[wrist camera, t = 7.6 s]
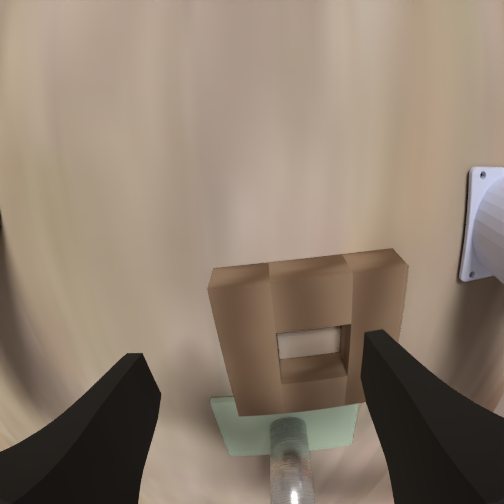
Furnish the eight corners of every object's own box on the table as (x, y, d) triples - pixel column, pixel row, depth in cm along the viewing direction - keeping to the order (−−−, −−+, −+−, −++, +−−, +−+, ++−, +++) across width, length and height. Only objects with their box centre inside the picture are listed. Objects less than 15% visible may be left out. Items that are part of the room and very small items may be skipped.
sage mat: (359, 382, 23) (361, 387, 22) (350, 439, 26) (351, 444, 26) (210, 397, 24) (210, 403, 23) (230, 451, 27) (229, 456, 27)
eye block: (392, 248, 18) (408, 266, 16) (377, 375, 22) (386, 397, 20) (213, 268, 19) (207, 289, 17) (240, 392, 23) (238, 416, 21)
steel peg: (302, 413, 23) (312, 509, 15) (309, 432, 25) (319, 519, 16) (264, 421, 24) (265, 515, 16) (274, 439, 25) (277, 525, 17)
